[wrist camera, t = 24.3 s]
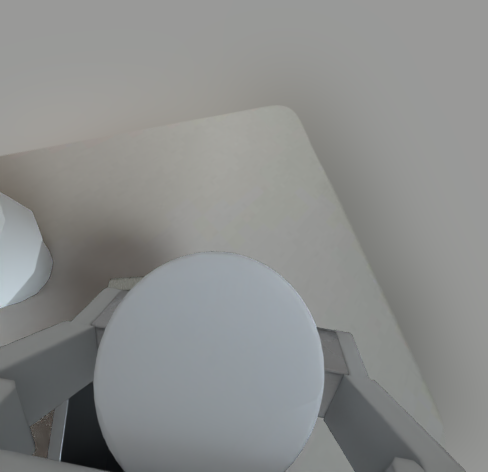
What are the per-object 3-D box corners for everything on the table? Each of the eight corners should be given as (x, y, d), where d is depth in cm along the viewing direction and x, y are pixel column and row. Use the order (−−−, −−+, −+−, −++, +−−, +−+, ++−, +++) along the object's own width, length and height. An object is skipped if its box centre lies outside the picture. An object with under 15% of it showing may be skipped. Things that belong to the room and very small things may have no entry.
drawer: (110, 289, 26) (61, 272, 18) (227, 282, 27) (225, 262, 19) (84, 539, 20) (-7, 665, 12) (239, 520, 20) (242, 629, 13)
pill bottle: (230, 271, 14) (227, 186, 6) (295, 345, 12) (403, 367, 5) (153, 336, 12) (14, 343, 4) (217, 425, 11) (184, 642, 3)
